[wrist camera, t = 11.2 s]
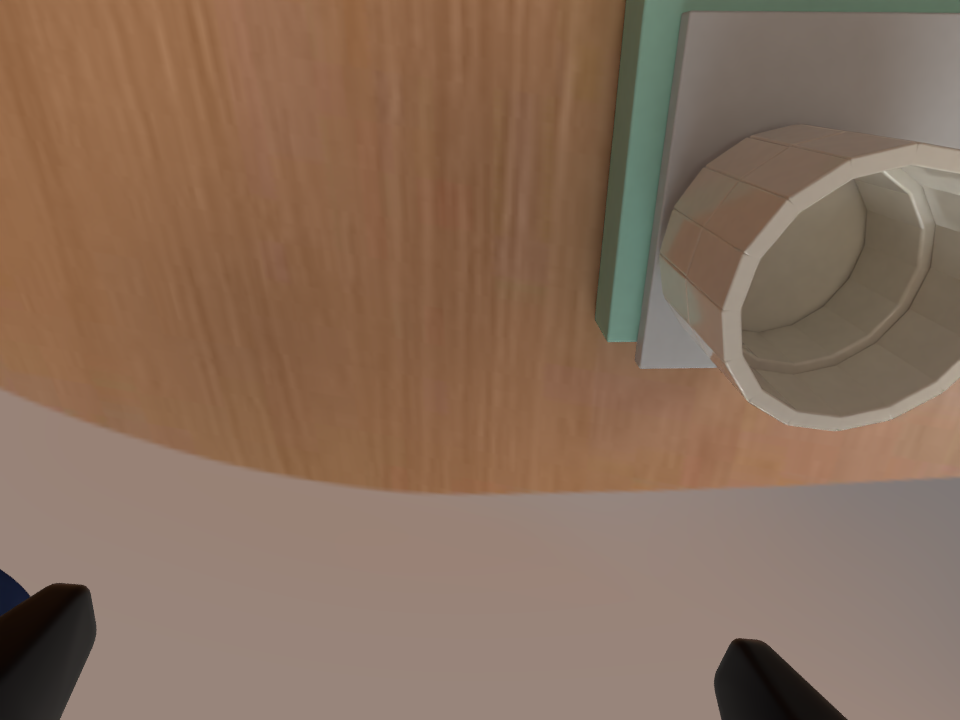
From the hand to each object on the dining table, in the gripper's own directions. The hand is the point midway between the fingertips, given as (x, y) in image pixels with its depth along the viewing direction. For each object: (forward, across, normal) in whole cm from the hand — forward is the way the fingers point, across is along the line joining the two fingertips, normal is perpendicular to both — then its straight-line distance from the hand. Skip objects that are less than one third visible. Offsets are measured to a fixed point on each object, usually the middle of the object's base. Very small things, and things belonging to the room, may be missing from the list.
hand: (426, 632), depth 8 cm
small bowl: (+10, -8, -4) cm, 13 cm away
